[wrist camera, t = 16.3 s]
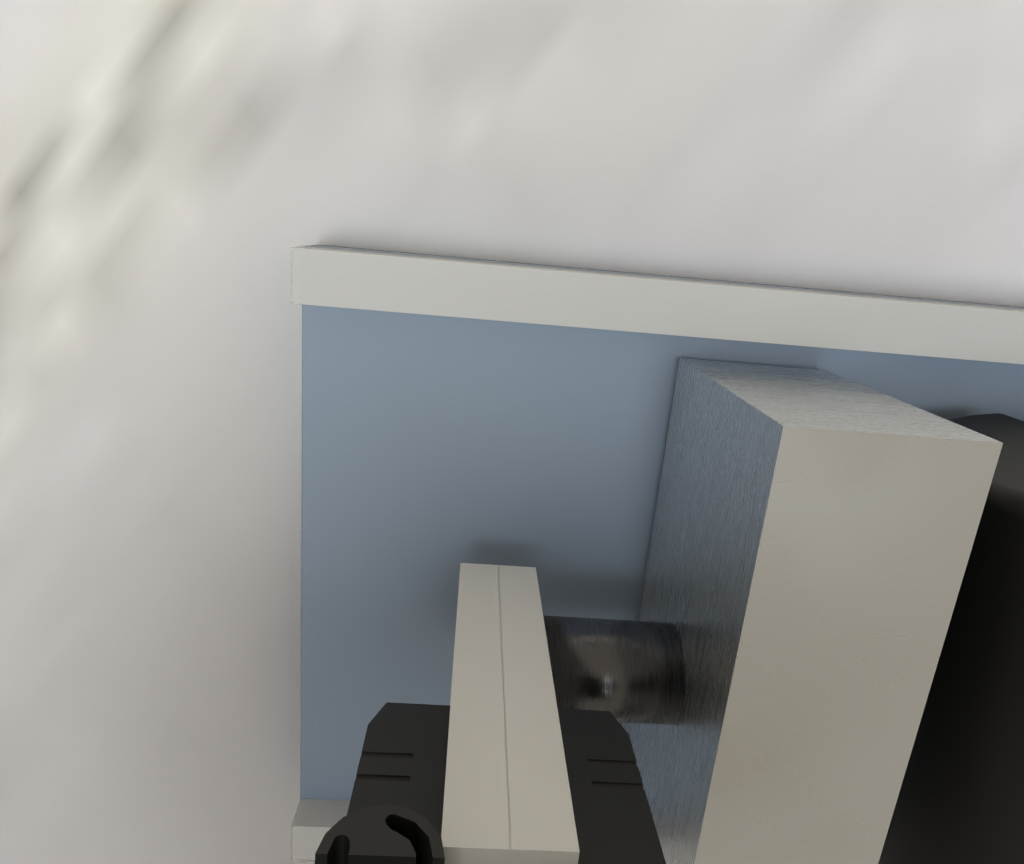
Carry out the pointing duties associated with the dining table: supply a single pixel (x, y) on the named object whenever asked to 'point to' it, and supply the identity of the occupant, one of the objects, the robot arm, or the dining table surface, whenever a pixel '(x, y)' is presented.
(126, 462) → the dining table surface
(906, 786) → the end cap
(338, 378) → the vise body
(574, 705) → the block
